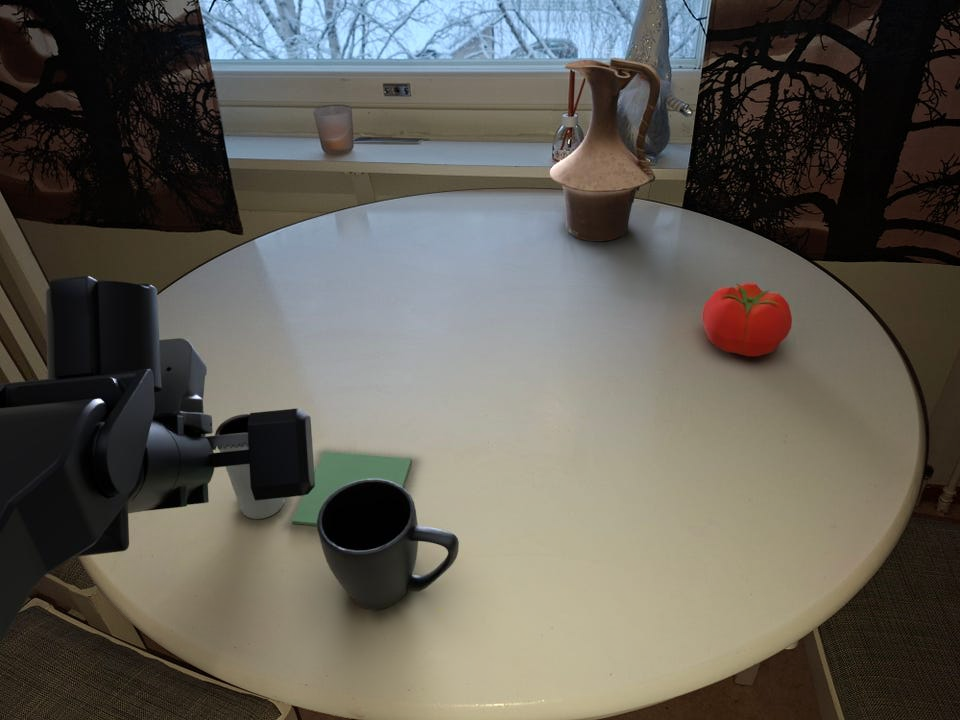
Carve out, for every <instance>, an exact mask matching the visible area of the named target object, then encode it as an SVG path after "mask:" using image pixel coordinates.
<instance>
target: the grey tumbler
mask: <svg viewBox="0 0 960 720" xmlns="http://www.w3.org/2000/svg"><path fill="white" fill-rule="evenodd" d="M249 416H250V413H245V414H243V413H242V414H238V415H234V416H231V417H230V418H228V419H226V420H224V421H223V422H221V423H220V425H219V426H218V427H217V428H216V430H215V433H214V436H216V435H226V434H236V433H247V432H248V429H247V424H248V420H249ZM248 449H249V447H246V444H244V447H241V446H240V444H239V446H238V448H235V446H234V445H233V448H229V446H228V447H227V449H224V448H223V445H222V449H218V451H219V452H229V451H238V450H248ZM225 470H226V473H227V475H228V478H229V480H230V484H231V486H232V489H233V491H234V495H235V497H236V500H237V504H238V505H239V508H240V511H241V512H242V514H243V515H244V516H245V517H247V518H249V519H252V520H260V519H261V520H262V519H266V518H269V517H271V516H273V515H275V514H276V513H278V512H279V511H280V510H281V509H282V508H283V506H284V504H285V502H286V497H284V498H275V499H266V500H256V501H255V499H254V496H253V493H252V490H251V484H250V466H249V464H246V465H236V466H227V467H225Z"/></svg>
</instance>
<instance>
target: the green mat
mask: <svg viewBox="0 0 960 720" xmlns="http://www.w3.org/2000/svg"><path fill="white" fill-rule="evenodd" d="M412 461H413V460H412V458H408V457H397V456H384V455H374V454H364V453H363V454H362V453H352V452H339V451H327V450H325V451H323V453H322V456H321V458H320V460H319V462H318V464H317V466H316V469H314V476H315V487H314V488H313V489H312V490H311V491H310V493H309V494H307V495H303V496H302V498H301V499H300V503H299V504H298V507H297V509H296V511H295V513H294V515H293V517H292V519H291V523H292V524H295V525H304V526H316V527H317V519H318V514H319V511H320V509H321V507H322V505H323V503H324V502H325V501H326V500H327V499H328V497H329V496H330V495H331V494H333V493H334V492H335V491H336V490H338V489H340V488H341V487H343V486H345V485H347V484H350V483H352V482H355V481H359V480H364V479H383V480H388V481H391V482H394V483H396V484H398V485H400V486H401V487H403V488H404V487H405V484H406V480H407V477H408V473H409V471H410V468H411V465H412Z"/></svg>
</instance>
